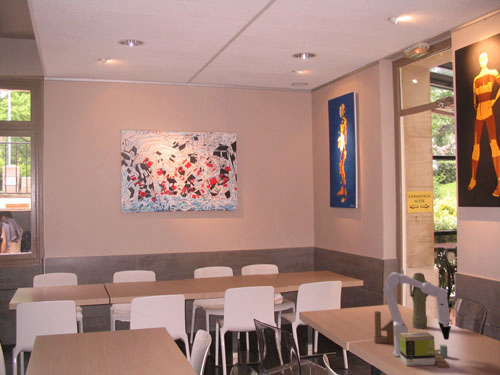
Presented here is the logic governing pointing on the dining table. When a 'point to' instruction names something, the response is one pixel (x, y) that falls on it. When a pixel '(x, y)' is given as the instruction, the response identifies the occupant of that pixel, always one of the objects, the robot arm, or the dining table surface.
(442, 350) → the grey-green block
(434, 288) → the robot arm
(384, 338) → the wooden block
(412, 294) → the thermos
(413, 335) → the tea box
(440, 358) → the walnut board
